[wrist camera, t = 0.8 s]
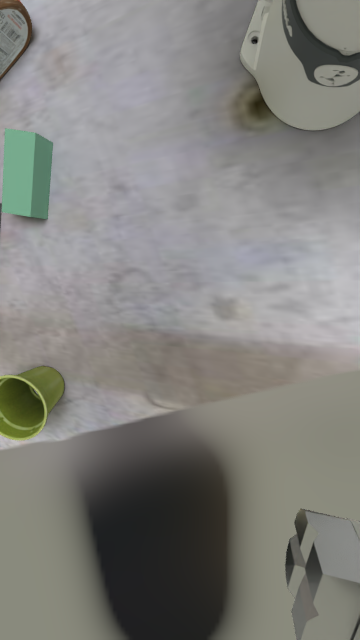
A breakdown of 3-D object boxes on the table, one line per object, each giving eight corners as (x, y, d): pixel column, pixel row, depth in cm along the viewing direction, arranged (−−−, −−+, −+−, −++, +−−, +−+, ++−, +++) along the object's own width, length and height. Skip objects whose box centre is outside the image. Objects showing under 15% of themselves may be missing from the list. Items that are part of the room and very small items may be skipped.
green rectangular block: (25, 139, 47) (5, 128, 42) (53, 143, 46) (35, 132, 42) (21, 214, 49) (1, 211, 45) (48, 219, 49) (30, 216, 44)
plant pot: (7, 377, 55) (-32, 401, 47) (47, 343, 53) (13, 362, 44) (46, 421, 56) (13, 452, 47) (86, 389, 53) (60, 416, 45)
